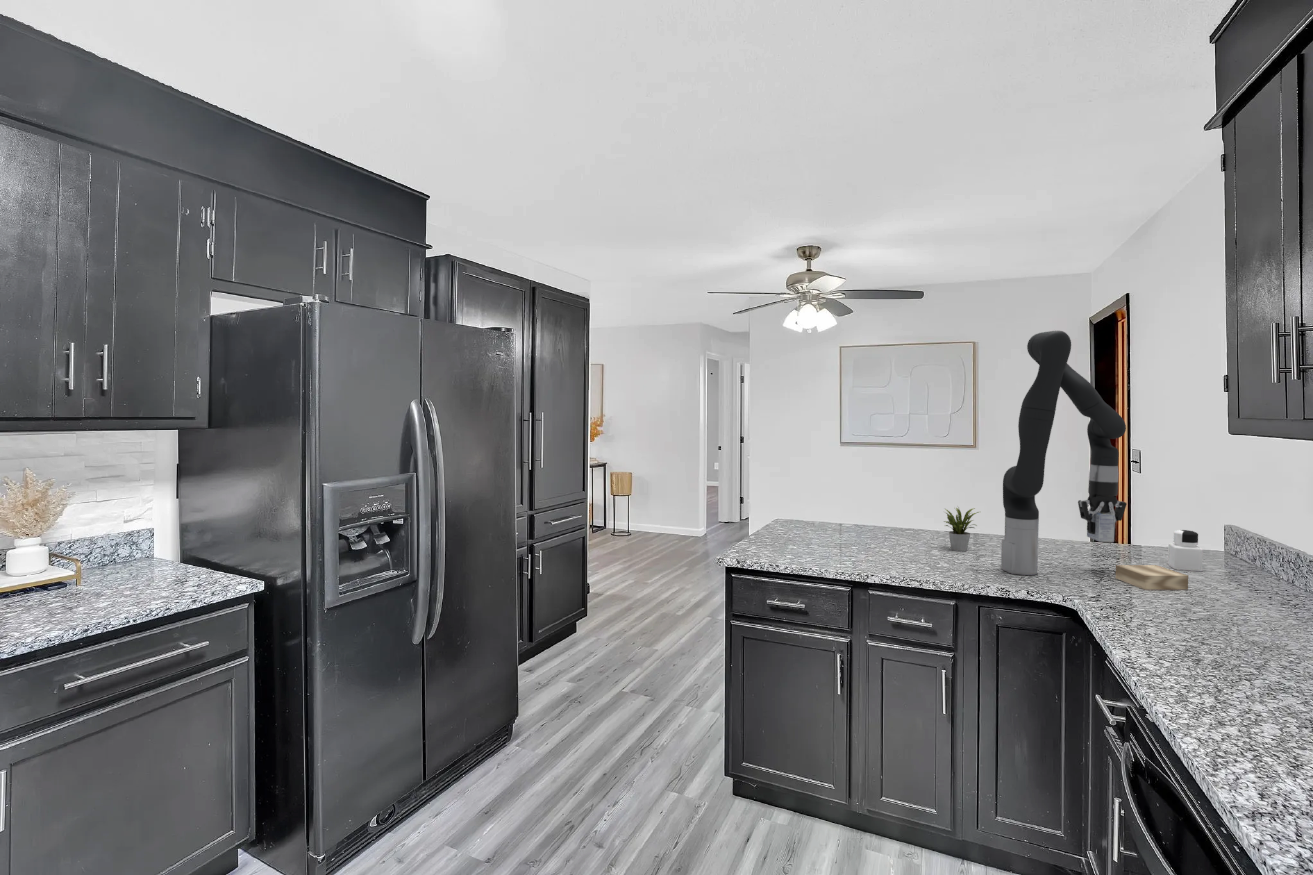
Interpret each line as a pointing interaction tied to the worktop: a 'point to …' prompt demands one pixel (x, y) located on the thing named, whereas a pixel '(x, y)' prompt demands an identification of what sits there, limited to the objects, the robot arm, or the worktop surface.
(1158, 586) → the oak base
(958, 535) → the house plant
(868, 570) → the worktop surface
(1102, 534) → the medicine box
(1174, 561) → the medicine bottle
